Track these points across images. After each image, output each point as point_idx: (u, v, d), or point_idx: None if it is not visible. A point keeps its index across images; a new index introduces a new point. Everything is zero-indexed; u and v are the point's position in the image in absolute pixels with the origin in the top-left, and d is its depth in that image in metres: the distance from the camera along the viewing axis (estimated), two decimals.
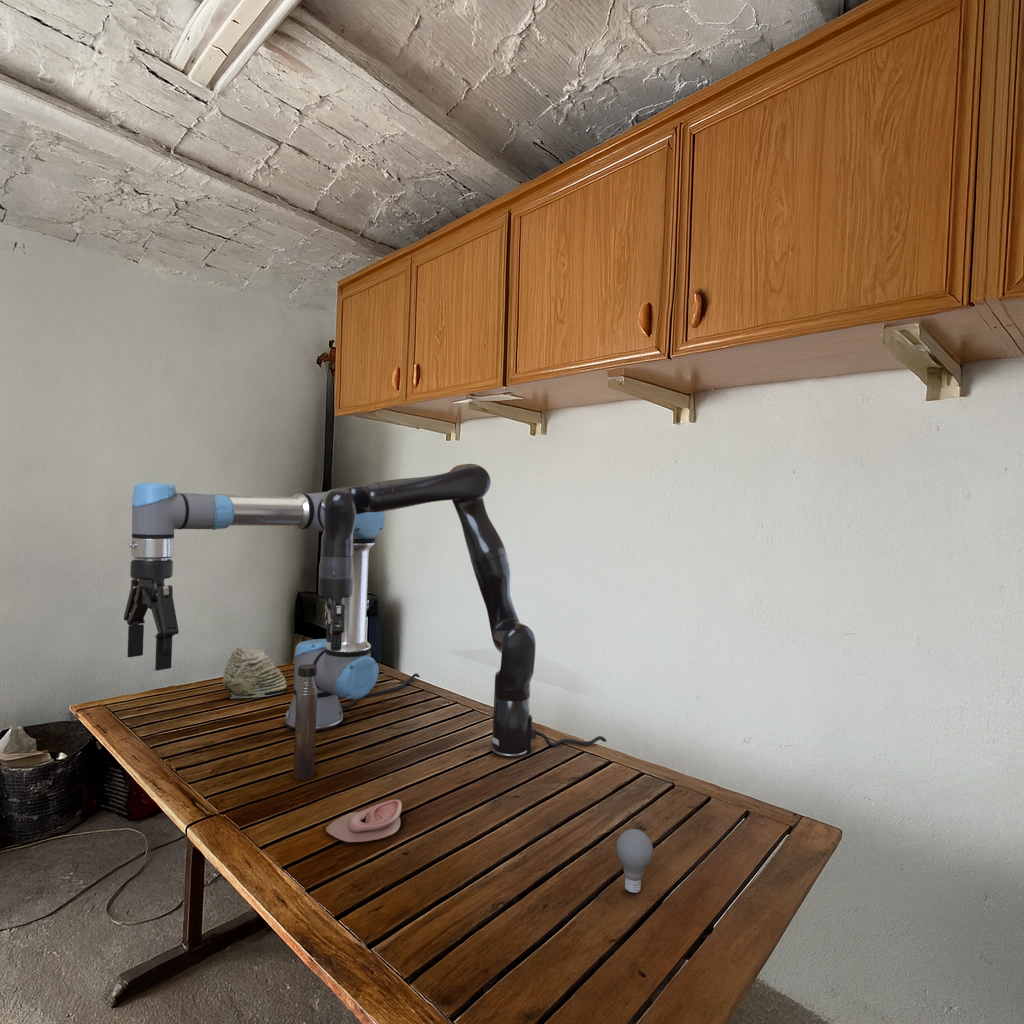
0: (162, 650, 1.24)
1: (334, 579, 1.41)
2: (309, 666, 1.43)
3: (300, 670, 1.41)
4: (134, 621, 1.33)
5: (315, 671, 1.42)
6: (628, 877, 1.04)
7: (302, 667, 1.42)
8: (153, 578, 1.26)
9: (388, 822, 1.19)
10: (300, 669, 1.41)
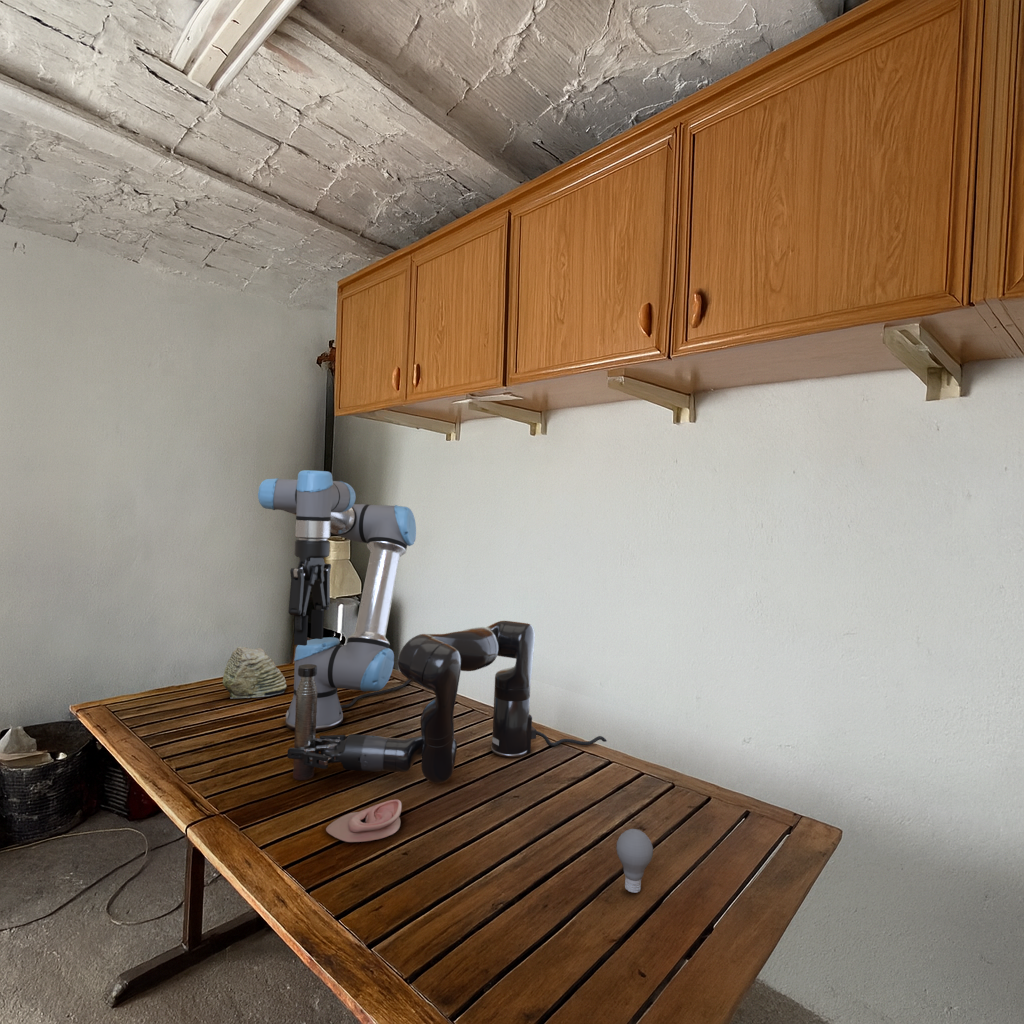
0: None
1: None
2: (309, 666, 1.43)
3: (300, 670, 1.41)
4: (318, 605, 1.46)
5: (315, 671, 1.42)
6: (628, 877, 1.04)
7: (302, 667, 1.42)
8: (299, 556, 1.39)
9: (388, 822, 1.19)
10: (300, 669, 1.41)
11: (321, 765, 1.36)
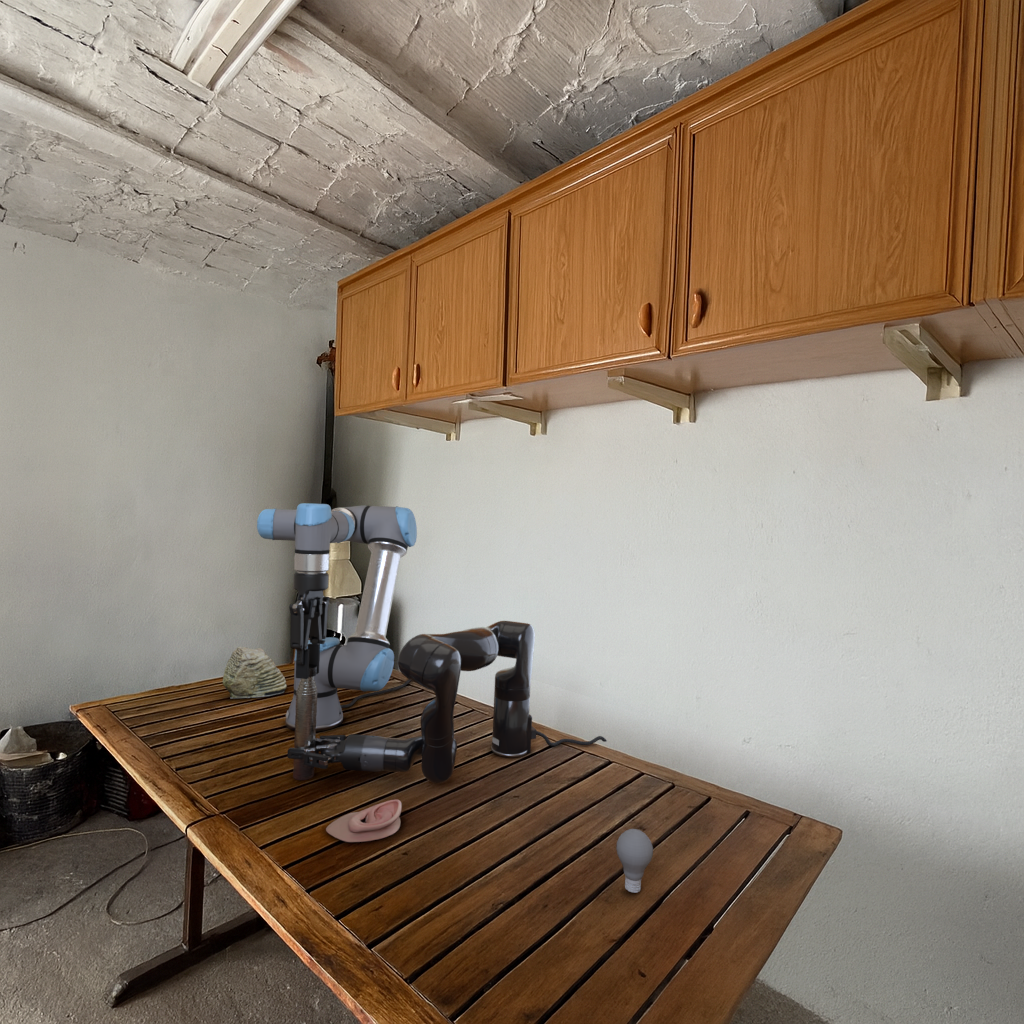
0: None
1: None
2: (309, 666, 1.43)
3: None
4: (314, 639, 1.45)
5: (315, 671, 1.42)
6: (628, 877, 1.04)
7: None
8: (297, 589, 1.39)
9: (388, 822, 1.19)
10: None
11: (321, 765, 1.36)
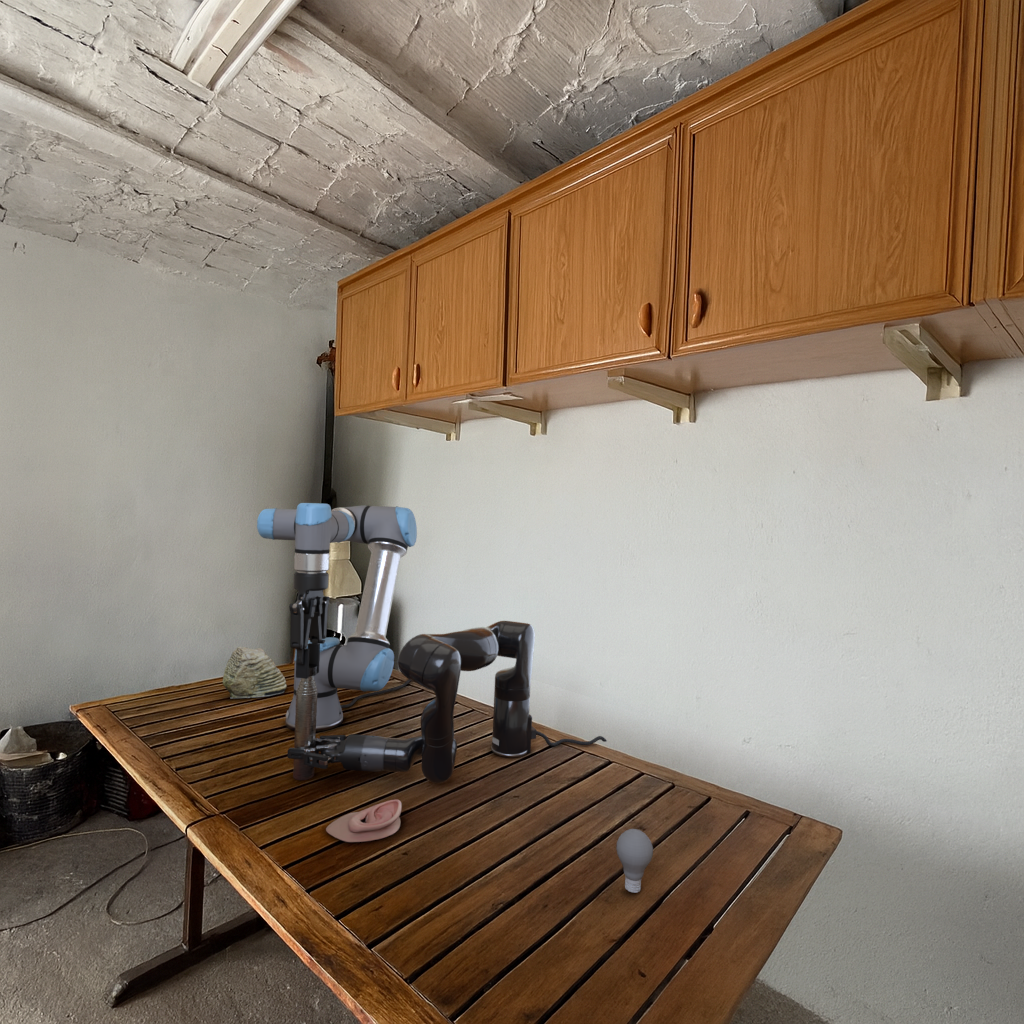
0: None
1: None
2: None
3: (312, 670, 1.41)
4: (314, 639, 1.45)
5: None
6: (628, 877, 1.04)
7: (310, 667, 1.42)
8: (297, 589, 1.39)
9: (388, 822, 1.19)
10: (312, 669, 1.41)
11: (321, 765, 1.36)
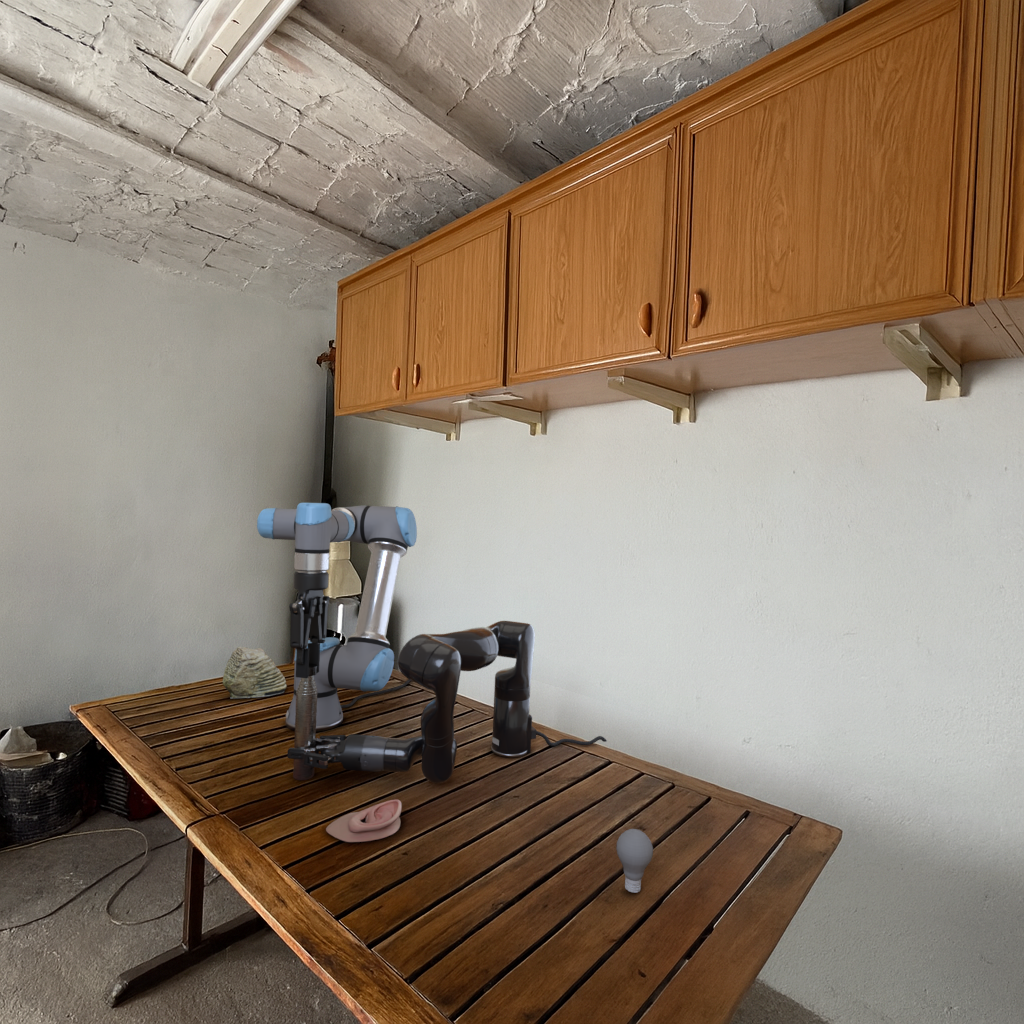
0: None
1: None
2: None
3: None
4: (314, 638, 1.45)
5: None
6: (628, 877, 1.04)
7: (313, 664, 1.44)
8: (297, 588, 1.39)
9: (388, 822, 1.19)
10: None
11: (321, 765, 1.36)
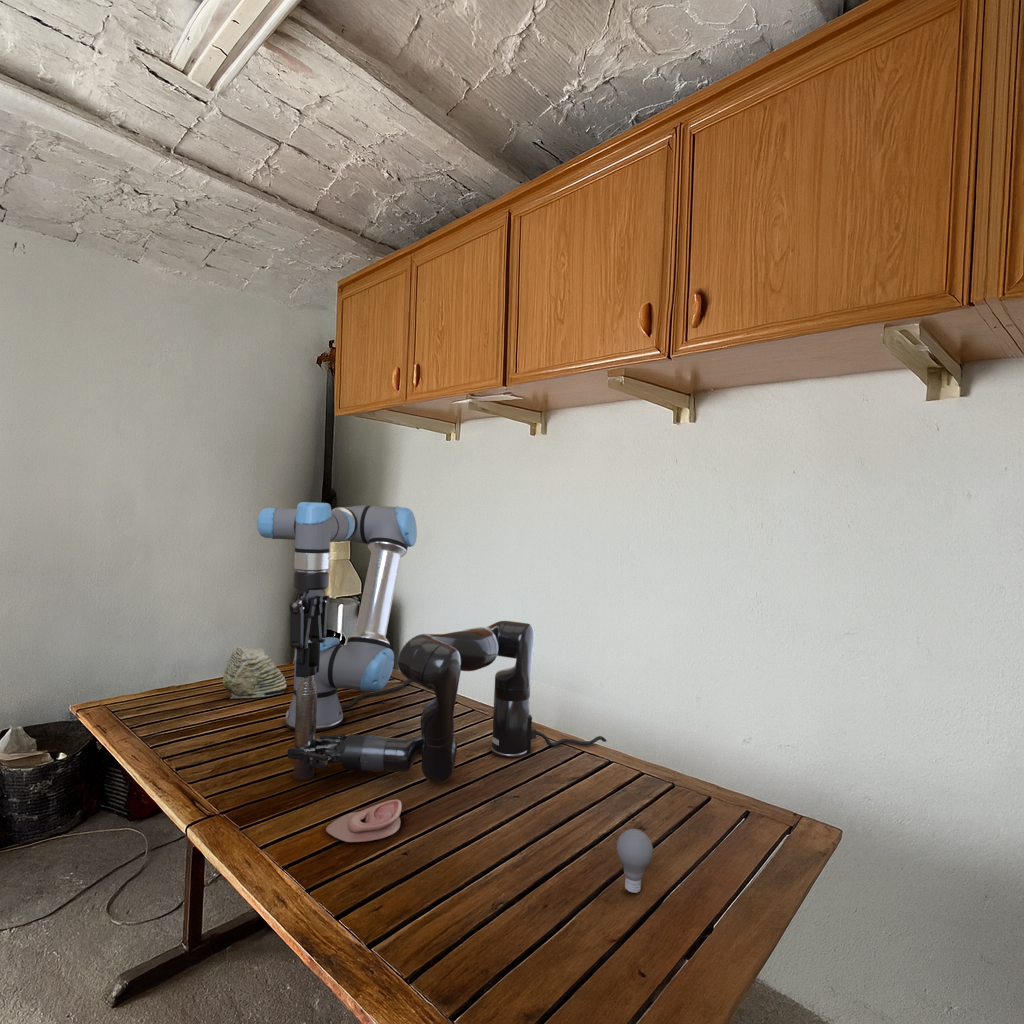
0: None
1: None
2: None
3: None
4: (314, 638, 1.45)
5: None
6: (628, 877, 1.04)
7: None
8: (297, 588, 1.39)
9: (388, 822, 1.19)
10: None
11: (321, 765, 1.36)
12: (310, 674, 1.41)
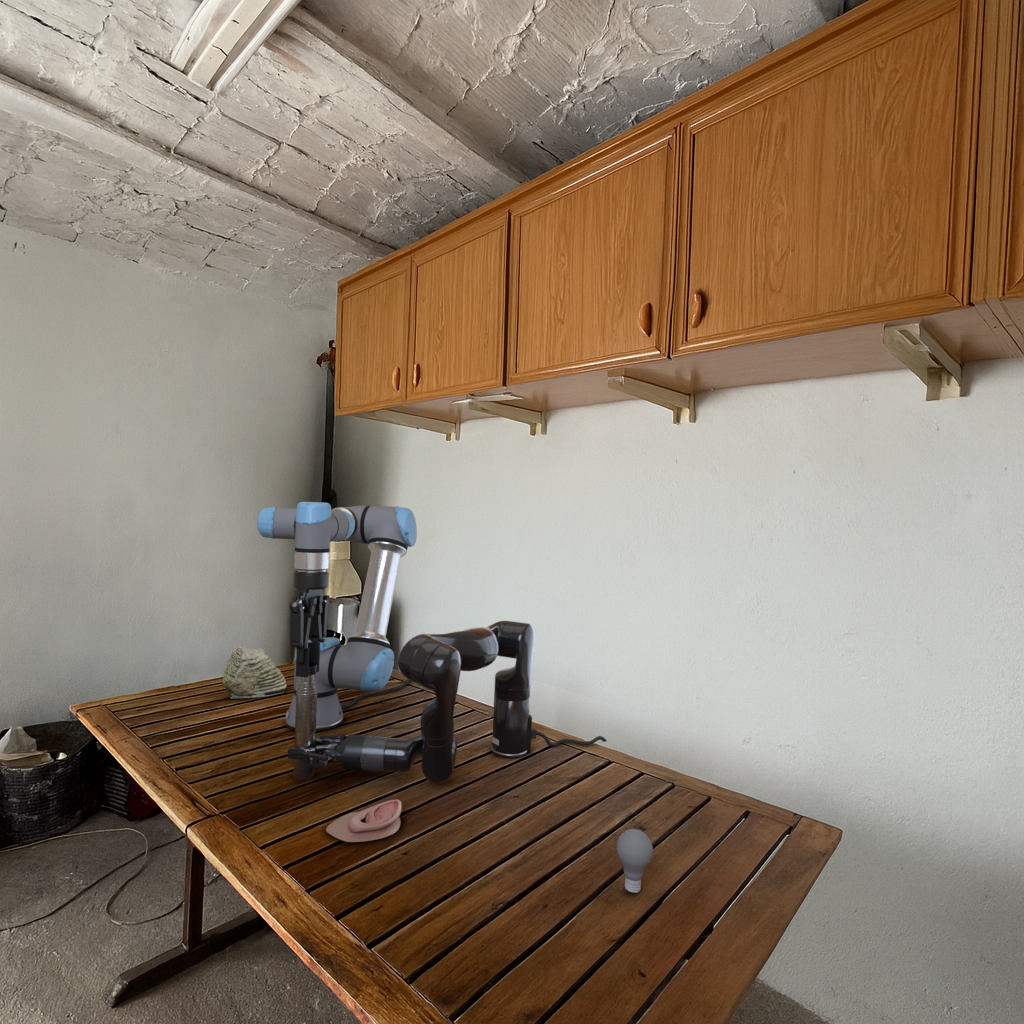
0: None
1: None
2: (309, 665, 1.43)
3: None
4: (314, 637, 1.45)
5: (312, 670, 1.41)
6: (628, 877, 1.04)
7: None
8: (297, 587, 1.39)
9: (388, 822, 1.19)
10: None
11: (321, 765, 1.36)
12: None
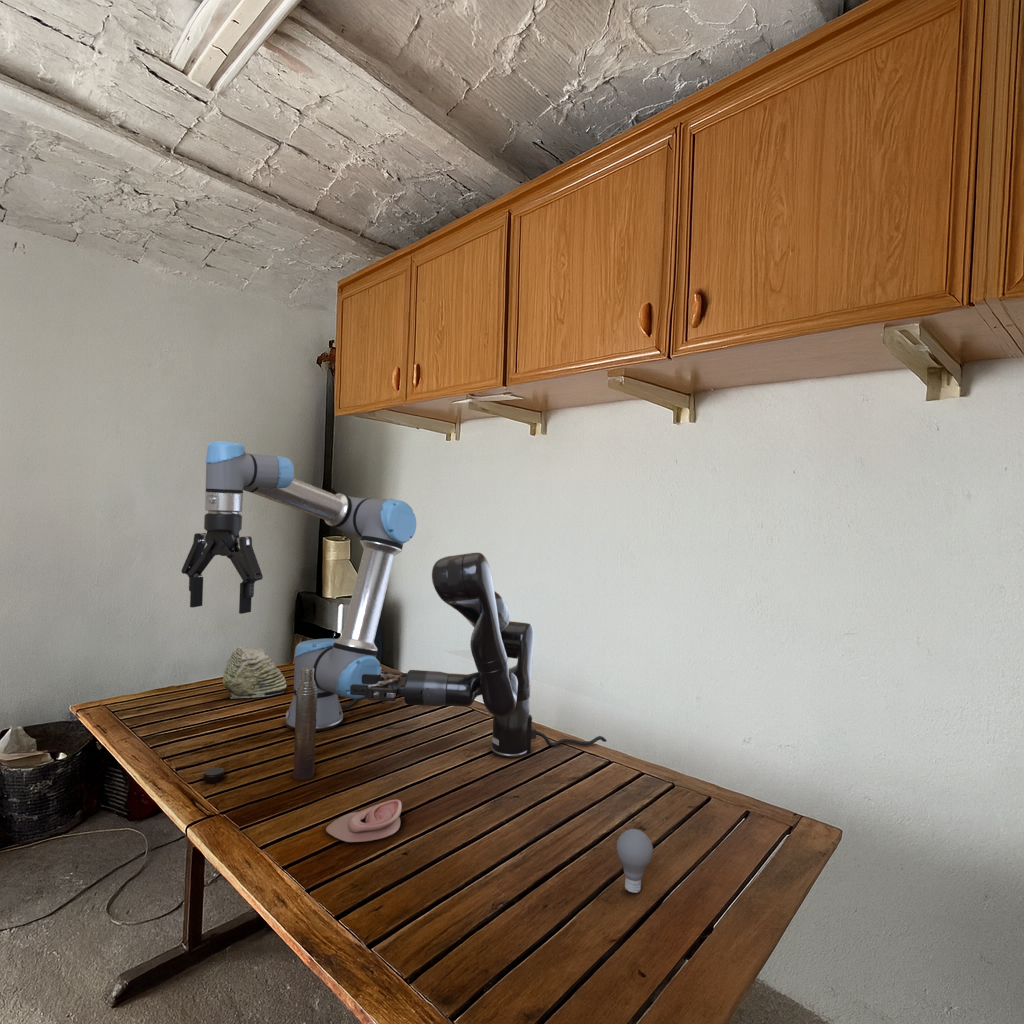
0: (247, 595, 1.35)
1: None
2: (213, 770, 1.40)
3: (223, 773, 1.40)
4: (195, 573, 1.41)
5: None
6: (628, 877, 1.04)
7: (220, 771, 1.40)
8: (232, 530, 1.36)
9: (388, 822, 1.19)
10: (223, 772, 1.40)
11: (390, 698, 1.35)
12: None
